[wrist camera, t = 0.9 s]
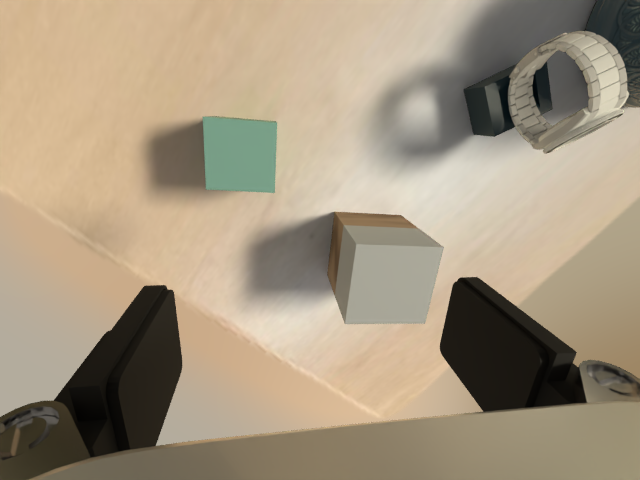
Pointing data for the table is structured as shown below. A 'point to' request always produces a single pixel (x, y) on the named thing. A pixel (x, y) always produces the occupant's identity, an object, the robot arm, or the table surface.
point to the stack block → (239, 154)
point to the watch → (535, 98)
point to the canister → (621, 38)
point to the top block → (386, 275)
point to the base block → (357, 220)
